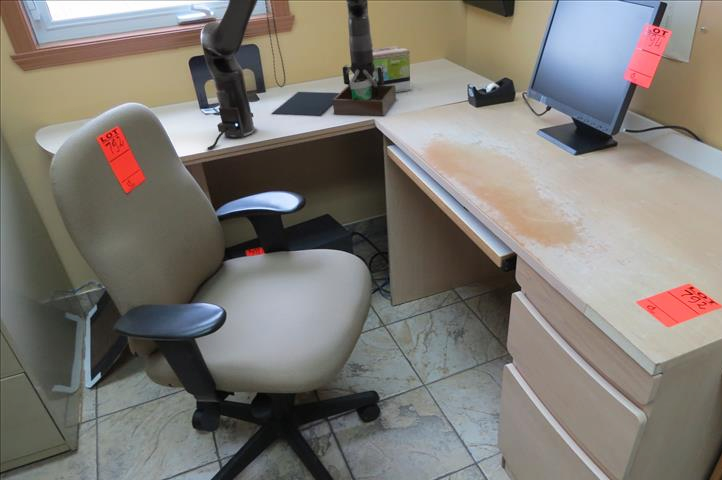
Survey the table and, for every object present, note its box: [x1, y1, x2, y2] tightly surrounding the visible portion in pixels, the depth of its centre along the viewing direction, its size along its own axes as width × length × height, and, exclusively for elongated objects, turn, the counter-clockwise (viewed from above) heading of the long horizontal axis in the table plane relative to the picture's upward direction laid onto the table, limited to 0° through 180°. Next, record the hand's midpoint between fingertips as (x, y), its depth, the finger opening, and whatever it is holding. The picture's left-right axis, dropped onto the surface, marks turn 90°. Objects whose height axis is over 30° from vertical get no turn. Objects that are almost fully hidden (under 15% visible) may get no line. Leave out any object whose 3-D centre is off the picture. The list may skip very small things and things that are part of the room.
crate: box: [332, 85, 397, 117], centre depth 195 cm, size 18×18×5 cm
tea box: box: [372, 45, 411, 93], centre depth 206 cm, size 15×10×15 cm, turn 114°
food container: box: [351, 78, 372, 100], centre depth 193 cm, size 12×6×10 cm, turn 168°
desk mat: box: [271, 91, 340, 117], centre depth 202 cm, size 24×18×1 cm
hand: (365, 96), depth 194 cm, fingers open, 7 cm apart
